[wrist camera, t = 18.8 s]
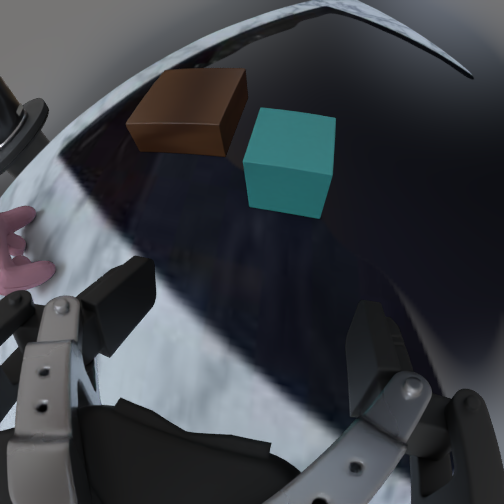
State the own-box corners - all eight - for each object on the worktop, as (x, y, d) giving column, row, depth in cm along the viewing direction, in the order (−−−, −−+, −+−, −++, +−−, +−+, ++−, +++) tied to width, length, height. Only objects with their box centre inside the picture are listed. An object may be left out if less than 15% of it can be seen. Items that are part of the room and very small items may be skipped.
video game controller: (25, 236, 25) (-24, 231, 18) (37, 204, 24) (-16, 195, 17) (48, 302, 21) (-13, 305, 15) (60, 268, 20) (-8, 267, 14)
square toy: (249, 207, 22) (242, 161, 17) (263, 154, 24) (260, 107, 19) (319, 219, 21) (332, 175, 16) (325, 164, 23) (335, 117, 18)
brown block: (139, 151, 25) (125, 124, 21) (173, 96, 28) (164, 70, 25) (225, 157, 24) (219, 124, 20) (248, 97, 27) (245, 68, 23)
